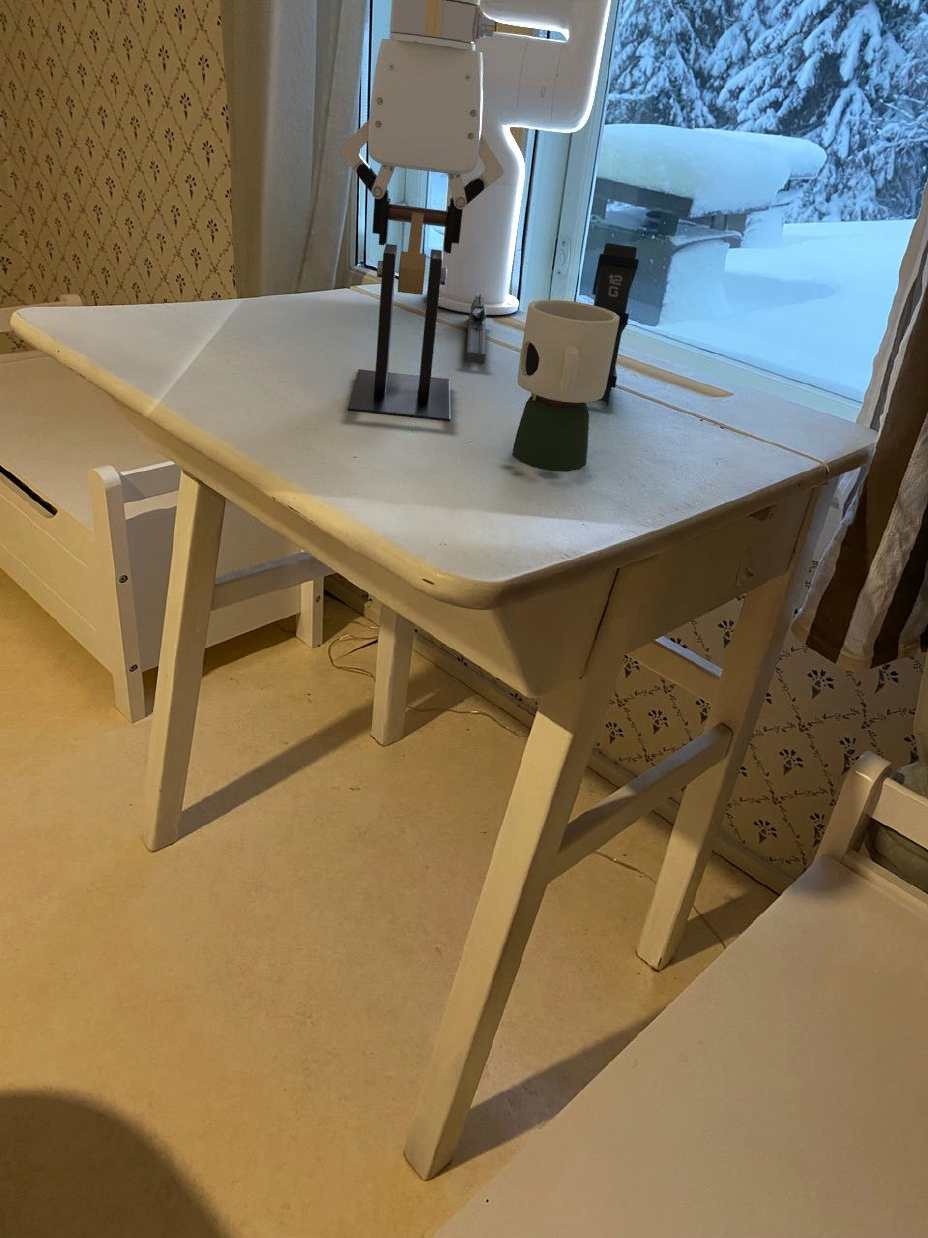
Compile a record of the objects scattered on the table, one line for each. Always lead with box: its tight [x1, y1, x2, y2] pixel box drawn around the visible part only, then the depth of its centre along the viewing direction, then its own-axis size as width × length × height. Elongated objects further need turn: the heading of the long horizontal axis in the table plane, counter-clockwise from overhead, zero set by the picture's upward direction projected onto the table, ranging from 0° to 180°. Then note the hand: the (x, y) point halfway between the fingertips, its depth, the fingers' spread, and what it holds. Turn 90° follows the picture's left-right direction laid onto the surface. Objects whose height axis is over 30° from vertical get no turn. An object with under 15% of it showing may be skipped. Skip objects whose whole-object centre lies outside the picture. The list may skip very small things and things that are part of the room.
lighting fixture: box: [465, 294, 487, 364], centre depth 107 cm, size 19×3×4 cm, turn 179°
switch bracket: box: [347, 243, 451, 422], centre depth 84 cm, size 12×9×14 cm
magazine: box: [591, 242, 640, 408], centre depth 95 cm, size 4×13×15 cm, turn 172°
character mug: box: [512, 299, 620, 473], centre depth 75 cm, size 11×7×13 cm, turn 177°
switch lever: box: [388, 203, 447, 296], centre depth 85 cm, size 13×6×2 cm, turn 1°
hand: (415, 244), depth 90 cm, fingers closed on switch lever, 5 cm apart
